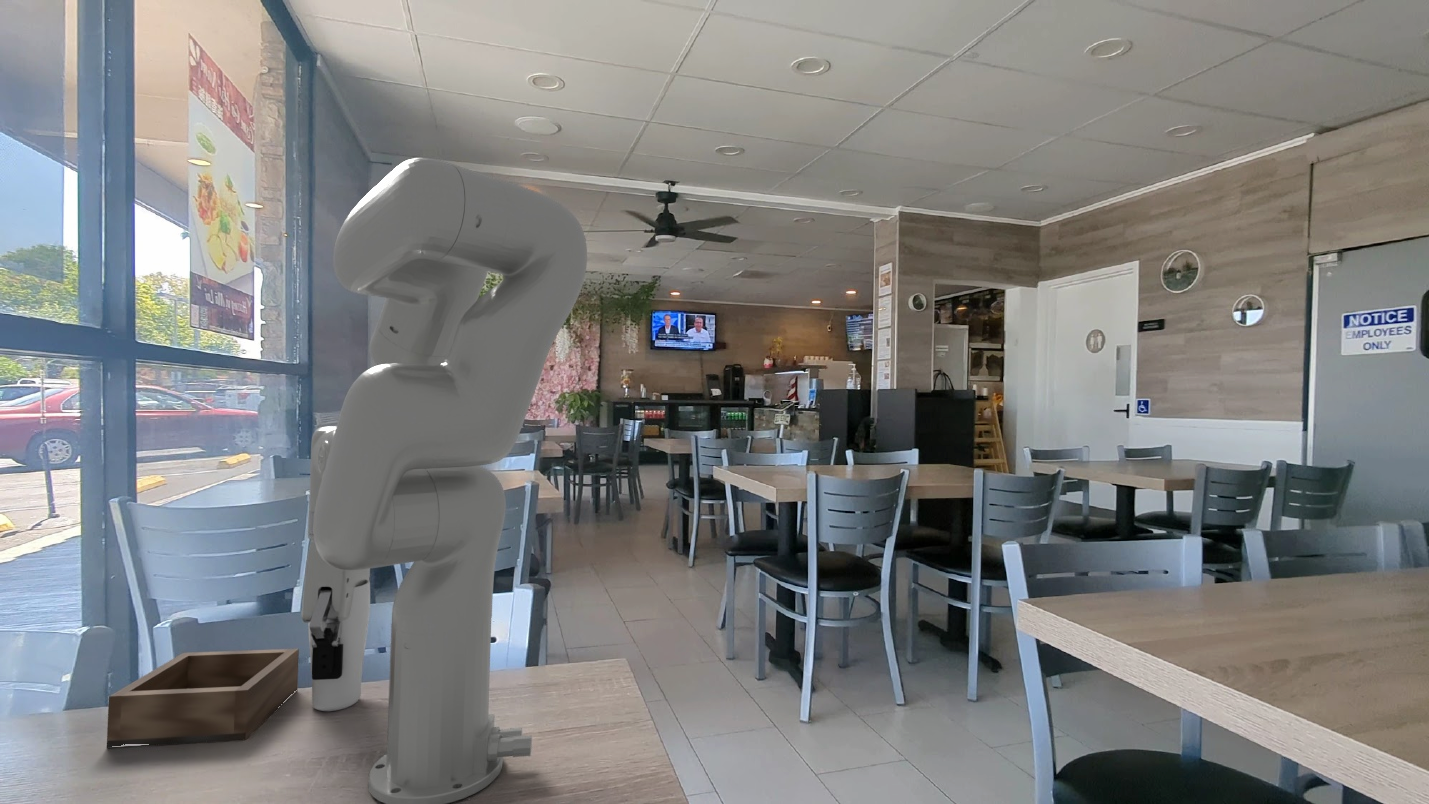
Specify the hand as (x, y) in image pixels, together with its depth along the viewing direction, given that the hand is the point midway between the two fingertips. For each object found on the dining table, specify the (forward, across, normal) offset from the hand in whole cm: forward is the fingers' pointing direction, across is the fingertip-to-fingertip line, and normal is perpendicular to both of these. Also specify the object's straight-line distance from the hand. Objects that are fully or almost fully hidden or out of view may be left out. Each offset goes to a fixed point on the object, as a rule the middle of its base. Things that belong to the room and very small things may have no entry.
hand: (337, 666), depth 84 cm
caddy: (+5, +2, -13) cm, 14 cm away
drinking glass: (+5, 0, 0) cm, 5 cm away
